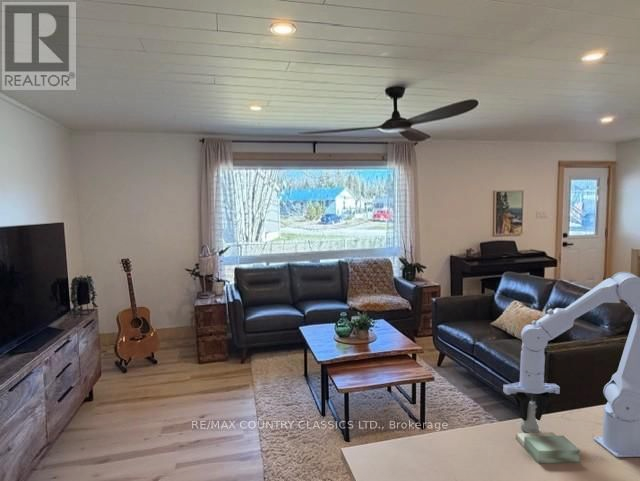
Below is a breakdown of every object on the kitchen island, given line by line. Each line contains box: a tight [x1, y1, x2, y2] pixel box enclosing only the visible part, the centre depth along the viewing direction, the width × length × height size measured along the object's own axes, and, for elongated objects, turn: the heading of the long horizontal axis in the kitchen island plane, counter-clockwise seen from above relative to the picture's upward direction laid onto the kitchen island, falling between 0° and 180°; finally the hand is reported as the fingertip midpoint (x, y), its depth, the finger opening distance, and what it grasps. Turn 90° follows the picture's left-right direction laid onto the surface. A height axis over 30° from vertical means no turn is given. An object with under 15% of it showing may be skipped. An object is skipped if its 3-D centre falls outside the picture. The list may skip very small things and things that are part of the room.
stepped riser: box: [515, 432, 581, 464], centre depth 100 cm, size 10×10×3 cm
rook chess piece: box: [520, 399, 540, 433], centre depth 109 cm, size 4×4×8 cm
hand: (530, 418), depth 109 cm, fingers open, 3 cm apart
